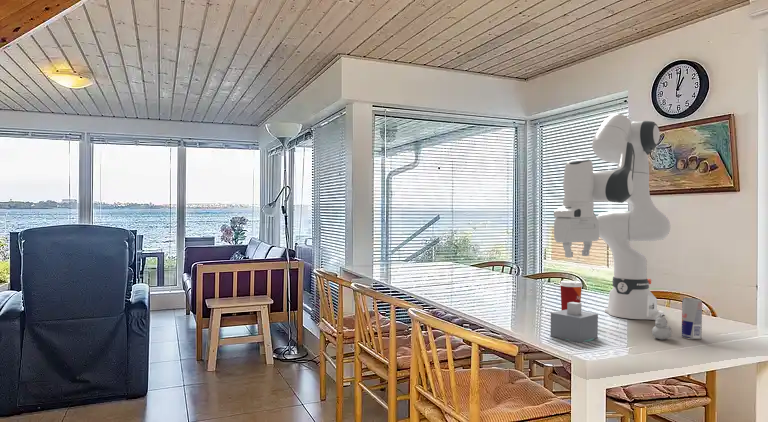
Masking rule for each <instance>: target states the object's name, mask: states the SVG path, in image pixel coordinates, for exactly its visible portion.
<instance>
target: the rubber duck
mask: <svg viewBox="0 0 768 422" xmlns="http://www.w3.org/2000/svg"><path fill="white" fill-rule="evenodd" d="M654 321H655V322H654V323H655V324H654V325H655V326H652V327H653V328H651V333H652V336H653V338H655V339H656V340H661V341H664V340H667V339H669V338H671V337H672V331H671V330H672V326H670V325H668V320H667V319H666V318H665V316H664V315H662V316H661V314H660V316H658V318H657V319H656V320H654Z"/></svg>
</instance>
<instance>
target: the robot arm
mask: <svg viewBox="0 0 768 422" xmlns="http://www.w3.org/2000/svg"><path fill="white" fill-rule="evenodd" d="M660 137H661V131H660V129H659V126H658V124H657V123H656V122H655V121H651V120H643V121H631V120H630V119H629V117H627V116H626V115H624V114H620V113H619V114H618V113H617V114H616V113H615V114H612V115H609V116H608V117H607V118H606V119H605V120H604V121H603V122H602V123H601V125H600V126H599V127H598V129H597V131H596V132H595V134H594V137H593V138H592V145H591V147H592V151H593V152H594V155H596V157H598V159H600V160H602V161H604V162H607V163H612V164H613V163H614V164H617V169H613V170H612V169H611V170H599V171H598V170H597V171H595V170H594V167H593V162H592V160H591V159H588V158H579V159H571V160H569V161H567V162H566V163H565V166H564V172H563V184H562V185H563V186H562V187H563V188H562V189H563V192H564V197H563V200H562V205H561V206H560V207H558V208H556V209H555V210H554V211H553V217H554V218H555V219H554V223H553V237H554V240H555V242H556V243H560V244H561V243H562V249H563V250H564V257H565V258H569V259H570V258H574V251H572V248H571V247H573V245H572V243H582V242H583V249H582V250H581V256H582V257H589V256H590V250H591V248H592V245H593V242H597V241H599V239H602V240H603V241H604V242H605V243H606V244H607V246H608V248H609V249H610V252H611V253H612V257H613V277H612V281H611V282H612V289H611V290H609V293H608V304H607V308H605V309H604V313H607V314H608V315H610V316H611V317H612V316H613V317H616V318H623V319H630V320H653V321H656V319H657V318H658V316H660V314H661V316H662V317H663V316H664V315H665V311H664V310H660V309H659V310H658V299H657V297H656V296H655V295H654V293H652V292H651V290H650V285H651V284H652V281H653V280H652V279H651V278H647V277H648V276H647V275H648V274H647V273H648V270H647V269H648V267H647V266H648V260H647V257H646V256H645V254H643V253H642V252H640V251H638V250H636V249H635V248H633V247H631V245H630V242H656V241H661V240H664V239H666V238H667V237H668V235H669V234H670V232H671V222H670V219H669V218H668V216H666V214H665V213H663V212H661V211H660V210H659V209H658V208H657V206H655V204H654V203H653V200H652V198H651V193H650V165H649V164H650V162H649V156H648V155H651V153H652V151H654V150H655V149H656V148H657V146H658V145H659V141H660ZM595 202H598V203H599V202H606V203H608V202H609V203H617V204H619V203H620V204H623V203H624V202H625V203H627V204H630V205H632V207H633V210H631V211H629V210H627V211H626V210H611V211H605V212H599V213H598V215H596V214H595V212H594V208H595V207H594V204H595Z"/></svg>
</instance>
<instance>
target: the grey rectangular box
mask: <svg viewBox="0 0 768 422" xmlns="http://www.w3.org/2000/svg"><path fill="white" fill-rule="evenodd" d="M598 324H599V313H594V312H588V311H582V303H577V302H569V303H567V309H566V310H562V309H561V310H557V311H553V312H550V335H549V336H550V337H553V338H556V339H557V338H558V339H562V340H565V339H569V340H568V341H571V342H575V343H579V344H581V343H584V341H586V340H589V339H593V338H594V339H597V338H599V337H598V335H599V334H598V333H599V332H598V331H599V330H598V327H599V325H598Z"/></svg>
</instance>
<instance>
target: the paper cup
mask: <svg viewBox="0 0 768 422" xmlns="http://www.w3.org/2000/svg"><path fill="white" fill-rule="evenodd" d="M559 286H560V303H561V304H560V305H561V310H566V309H567V303H569V302H577V303H581V302H582V301H581V300H582V288H583V284H582V282H581V281H578V280H561V281H560V283H559Z"/></svg>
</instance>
